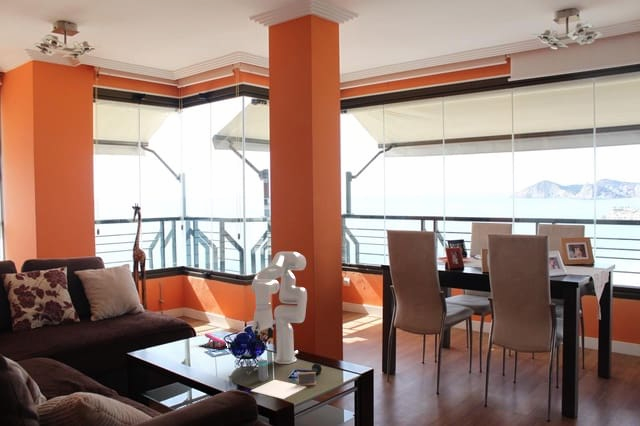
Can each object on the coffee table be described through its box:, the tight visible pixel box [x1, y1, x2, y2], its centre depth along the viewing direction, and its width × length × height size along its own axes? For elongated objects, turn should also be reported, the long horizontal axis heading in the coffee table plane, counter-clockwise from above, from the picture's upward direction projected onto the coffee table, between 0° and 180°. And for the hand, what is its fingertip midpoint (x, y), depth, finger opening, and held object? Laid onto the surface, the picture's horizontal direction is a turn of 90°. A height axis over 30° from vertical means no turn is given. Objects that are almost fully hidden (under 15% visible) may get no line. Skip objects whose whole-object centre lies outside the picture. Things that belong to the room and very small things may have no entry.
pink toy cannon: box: [198, 332, 228, 351], centre depth 346 cm, size 15×20×7 cm
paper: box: [250, 379, 307, 400], centre depth 267 cm, size 18×20×1 cm
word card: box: [296, 371, 317, 386], centre depth 272 cm, size 1×9×6 cm, turn 95°
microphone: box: [310, 363, 323, 375], centre depth 283 cm, size 5×5×19 cm
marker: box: [257, 359, 269, 382], centre depth 280 cm, size 3×3×10 cm
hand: (264, 340), depth 278 cm, fingers open, 9 cm apart
